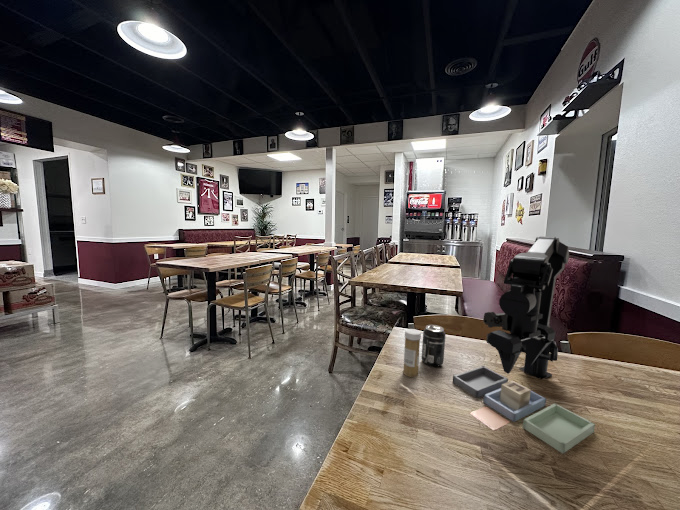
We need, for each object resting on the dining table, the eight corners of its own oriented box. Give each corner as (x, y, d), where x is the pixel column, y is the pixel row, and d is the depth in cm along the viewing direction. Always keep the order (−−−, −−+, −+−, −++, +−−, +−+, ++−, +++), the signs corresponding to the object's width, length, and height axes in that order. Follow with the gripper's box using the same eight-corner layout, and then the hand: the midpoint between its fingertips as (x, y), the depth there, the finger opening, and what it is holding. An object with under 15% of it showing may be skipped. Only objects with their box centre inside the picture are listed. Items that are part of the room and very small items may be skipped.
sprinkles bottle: (421, 375, 81) (424, 332, 80) (411, 379, 79) (413, 335, 77) (409, 368, 85) (412, 327, 83) (399, 372, 82) (401, 330, 81)
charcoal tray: (482, 373, 83) (483, 365, 83) (507, 387, 76) (508, 378, 76) (452, 384, 77) (453, 375, 77) (476, 399, 70) (477, 390, 70)
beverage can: (425, 355, 93) (427, 322, 92) (445, 362, 89) (448, 327, 88) (418, 363, 88) (420, 328, 86) (439, 370, 84) (442, 333, 82)
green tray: (553, 412, 66) (554, 403, 66) (593, 434, 59) (595, 423, 59) (522, 429, 60) (523, 419, 60) (562, 456, 53) (564, 444, 53)
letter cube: (510, 396, 71) (512, 380, 71) (528, 406, 67) (530, 389, 67) (499, 400, 69) (501, 384, 69) (518, 412, 65) (520, 394, 65)
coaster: (485, 408, 67) (485, 406, 67) (509, 424, 62) (510, 422, 62) (469, 415, 64) (469, 413, 64) (493, 433, 59) (493, 430, 59)
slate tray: (514, 390, 75) (515, 382, 74) (545, 407, 68) (546, 398, 68) (483, 404, 69) (484, 394, 68) (513, 424, 62) (514, 414, 62)
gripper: (513, 295, 77) (508, 348, 78) (469, 302, 68) (464, 361, 70) (559, 307, 67) (552, 366, 69) (514, 317, 58) (507, 384, 60)
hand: (517, 368), depth 67 cm, fingers open, 9 cm apart
